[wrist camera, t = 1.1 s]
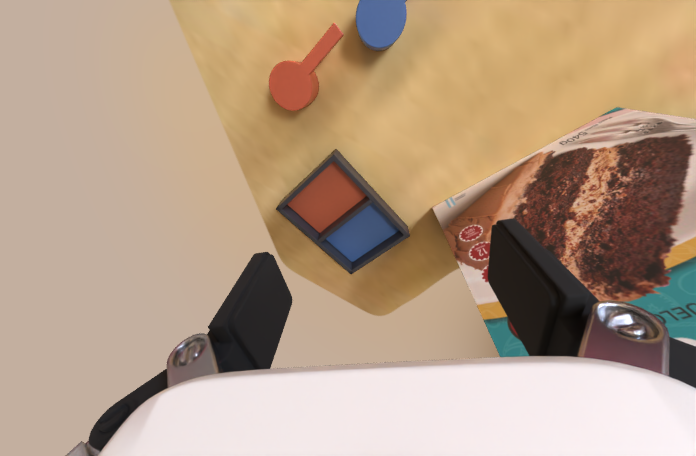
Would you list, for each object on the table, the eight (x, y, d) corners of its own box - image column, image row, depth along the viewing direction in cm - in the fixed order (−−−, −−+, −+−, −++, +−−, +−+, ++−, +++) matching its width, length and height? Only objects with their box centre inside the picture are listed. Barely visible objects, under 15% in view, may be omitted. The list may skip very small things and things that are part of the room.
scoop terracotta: (272, 83, 29) (260, 85, 26) (327, 13, 26) (321, 5, 22) (301, 114, 31) (292, 120, 27) (357, 52, 27) (355, 49, 24)
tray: (281, 201, 37) (275, 209, 35) (336, 148, 33) (333, 154, 30) (351, 264, 42) (351, 274, 40) (407, 226, 38) (410, 235, 36)
